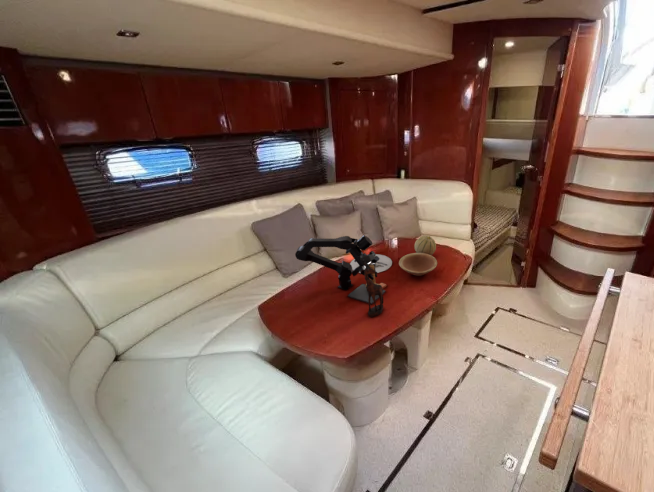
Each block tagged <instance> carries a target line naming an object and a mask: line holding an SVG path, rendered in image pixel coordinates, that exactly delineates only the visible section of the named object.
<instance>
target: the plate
mask: <svg viewBox="0 0 654 492" xmlns="http://www.w3.org/2000/svg"><path fill="white" fill-rule="evenodd" d="M375 254H376V256H378V257H379V258H380V259H379V260H378V261H377V262H376V264H375V270H376V272H377V274H379V273H382V272H383V273H384V272H385V271H387V270H389V269H390V268H391V267H392V265H393V261H392V259H391V258H390V257H389V256H386V255H384V254H377V253H375ZM354 261H355V259H354V258H353V260H351V261H350V262H349V264H350V265H351V266H352V271H353V270H354V269H355V268H357V267H358V266H359V264H358V263H357V262H354ZM360 273H361V272H358V274H360Z"/></svg>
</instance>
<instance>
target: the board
mask: <svg viewBox="0 0 654 492" xmlns="http://www.w3.org/2000/svg"><path fill="white" fill-rule="evenodd" d="M385 293H386V290H385V289H383V291H382V296H383V295H384V294H385ZM347 297H348V298H350V299H353V300H356V301H359V302H363V303H365V304H368V305H369V295H368V291H367V289H366V283H361V284H360V285H359V286H358V287H356V288H354V290H352V291H351V292H350V293H348V294H347ZM379 299H380V297H379V295H375V302H376V301H378V300H379ZM373 304H374V301H373V299H372V296H371V299H370V306H372V305H373Z"/></svg>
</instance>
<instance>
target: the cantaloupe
mask: <svg viewBox="0 0 654 492" xmlns="http://www.w3.org/2000/svg"><path fill="white" fill-rule="evenodd" d="M413 248H414V251H415V253H425V254H429V255H431V256H433V255H434V254H435V252H436V250H437V243H436V241H435V239H434V238H433V237H432V236H431V235H422V236H419V237H418V238H417V239H416V240H415V242H414V247H413Z"/></svg>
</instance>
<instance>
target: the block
mask: <svg viewBox="0 0 654 492" xmlns="http://www.w3.org/2000/svg"><path fill="white" fill-rule="evenodd" d="M379 284H380V285H381V286H382V288H383V289H385V288H386V287H387V286H388V285H387V284H386V283H384V282H380V283H379Z"/></svg>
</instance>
